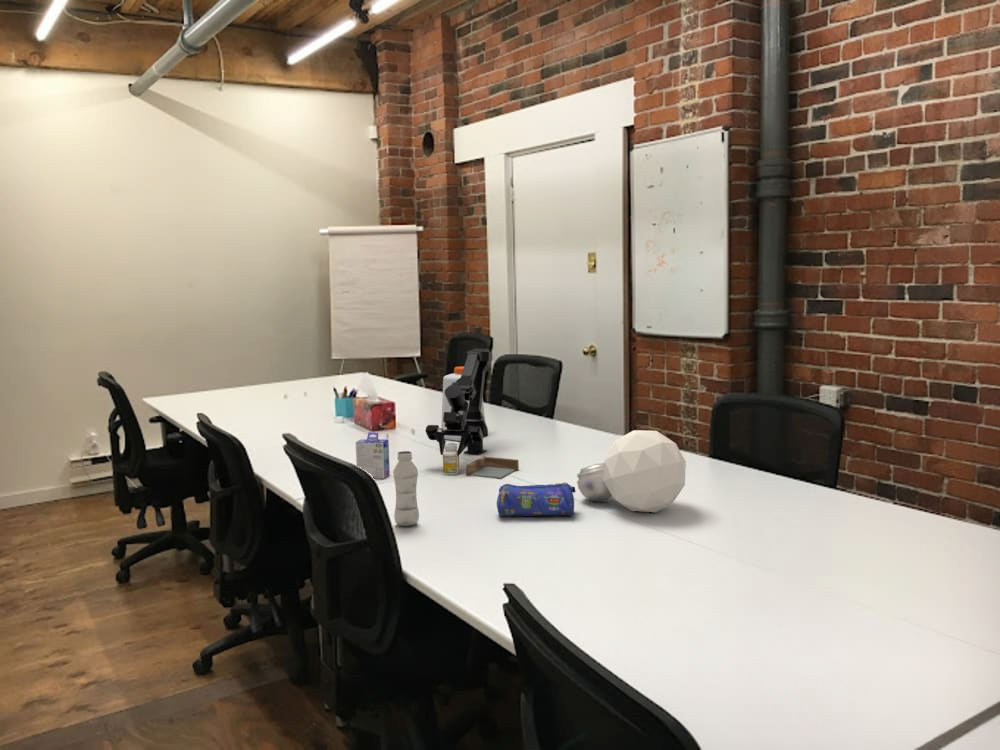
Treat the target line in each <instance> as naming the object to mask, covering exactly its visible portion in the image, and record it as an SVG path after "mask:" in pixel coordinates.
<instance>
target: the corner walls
mask: <svg viewBox="0 0 1000 750" xmlns="http://www.w3.org/2000/svg"><path fill="white" fill-rule="evenodd" d="M486 466H487V467H497V468H507V469H515V471H514V472H517V471H519V468H520V467H519V459H513V458H503V457H493V456H482V457H480V458H477V459H476V460H475V459H474V461H472V462H470V463H468V464H466V465H465V476H467V477H472V476H471V474H472V473H474V472H476V471H478V470H480V469H482V468H484V467H486Z"/></svg>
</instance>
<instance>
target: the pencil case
mask: <svg viewBox="0 0 1000 750" xmlns="http://www.w3.org/2000/svg"><path fill="white" fill-rule="evenodd" d="M573 493H576V487H575V486H572V485H571V484H569V483H568V482H562V483H561V482H556V483H553V484H552V483H550V484H532V485H531V484H529V485H515V484H510V483H504V484H503V485H500V487H499V489H498V494H497V498H496V509H497V512H498V513H497V514H498V515H499V516H501V517H502V516H503V517H504V516H507V517H509V516H510V517H512V516H515V517H517V516H521V517H523V516H525V517H538V516H539V517H541V516H546V517H547V516H569V517H572V516H575V515H574V514H575V497H574V494H573Z"/></svg>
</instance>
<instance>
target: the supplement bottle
mask: <svg viewBox="0 0 1000 750" xmlns="http://www.w3.org/2000/svg"><path fill="white" fill-rule="evenodd" d="M457 447H458V445H457V443H451V442H450V443H445V447H444V452H443V455H442V467H443V468H442V471H443V475H446V476H454V475H455V476H456V475H458V474H459V473H460V455H459V456H458V455H457V452H458V448H457Z"/></svg>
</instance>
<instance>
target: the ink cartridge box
mask: <svg viewBox="0 0 1000 750" xmlns="http://www.w3.org/2000/svg"><path fill="white" fill-rule="evenodd" d="M372 435H374V436H372ZM389 445H390V443H389V439H388V438H387V439H386V438H382V439H381V438H379V432H368V433H367V437H366V438H362V439H359V440H357V441H356V442H355V457H356V467H357V466H359V467H361V468H362V469H364V470H366V471H367V472H368V473H370V474H371V475H372V476H373V477H374V478H373V479H380V480H381V479H385V478H388V477H389V476H391V475H390V474H391V472H390V469H391V468H390V447H389Z"/></svg>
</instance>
